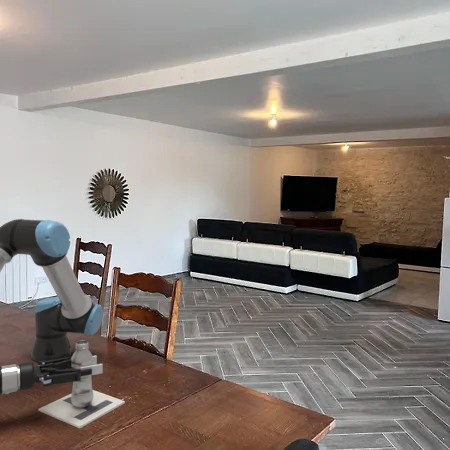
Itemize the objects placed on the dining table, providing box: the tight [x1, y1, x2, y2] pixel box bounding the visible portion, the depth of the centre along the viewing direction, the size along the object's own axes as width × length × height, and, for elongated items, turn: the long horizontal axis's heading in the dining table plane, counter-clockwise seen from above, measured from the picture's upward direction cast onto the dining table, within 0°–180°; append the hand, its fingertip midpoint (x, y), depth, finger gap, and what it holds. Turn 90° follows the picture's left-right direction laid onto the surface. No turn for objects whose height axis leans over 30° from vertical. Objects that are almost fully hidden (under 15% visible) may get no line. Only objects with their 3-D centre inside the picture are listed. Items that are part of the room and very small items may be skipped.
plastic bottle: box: [70, 339, 94, 408], centre depth 136 cm, size 6×7×20 cm
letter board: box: [38, 389, 126, 430], centre depth 137 cm, size 18×18×1 cm
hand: (99, 364), depth 139 cm, fingers open, 7 cm apart
